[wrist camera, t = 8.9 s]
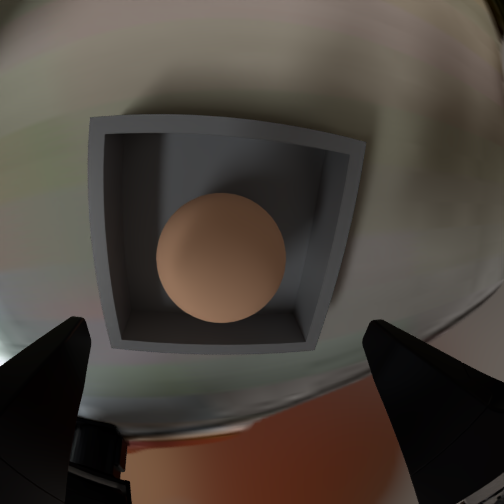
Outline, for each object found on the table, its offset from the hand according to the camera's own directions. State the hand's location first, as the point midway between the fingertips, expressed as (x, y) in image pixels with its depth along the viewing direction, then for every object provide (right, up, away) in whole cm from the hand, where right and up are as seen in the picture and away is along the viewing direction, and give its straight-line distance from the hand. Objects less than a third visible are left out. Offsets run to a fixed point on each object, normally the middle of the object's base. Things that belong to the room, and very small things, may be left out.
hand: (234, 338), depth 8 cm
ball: (-1, +2, +5) cm, 6 cm away
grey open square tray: (-1, +4, +8) cm, 9 cm away
